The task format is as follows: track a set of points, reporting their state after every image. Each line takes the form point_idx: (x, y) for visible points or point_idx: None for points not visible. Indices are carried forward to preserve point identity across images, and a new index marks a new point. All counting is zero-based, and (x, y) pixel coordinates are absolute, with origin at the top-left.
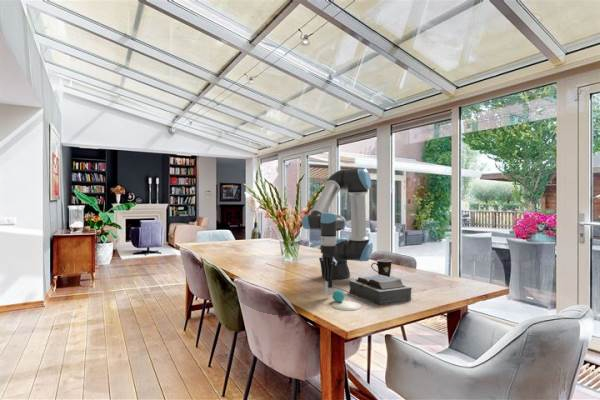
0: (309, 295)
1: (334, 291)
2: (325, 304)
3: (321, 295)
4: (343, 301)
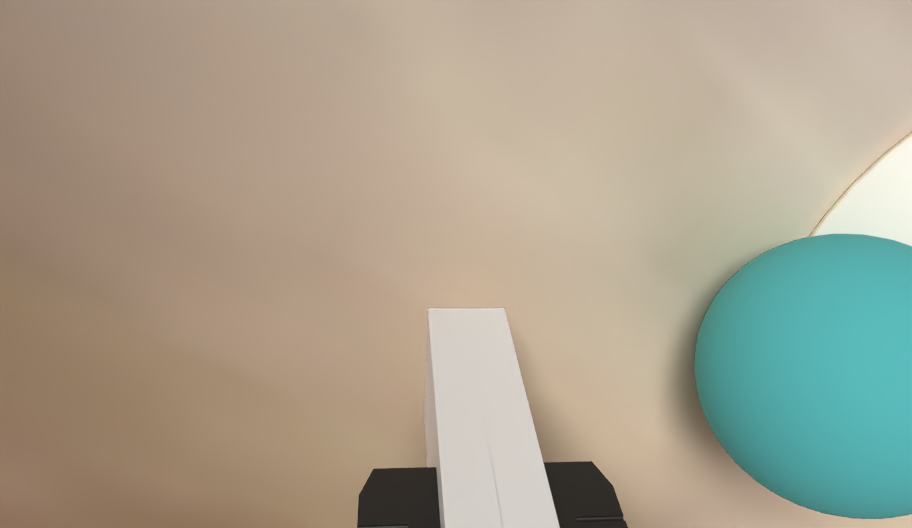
0: (114, 489)
1: (811, 501)
2: (699, 506)
3: (208, 326)
4: (852, 224)
